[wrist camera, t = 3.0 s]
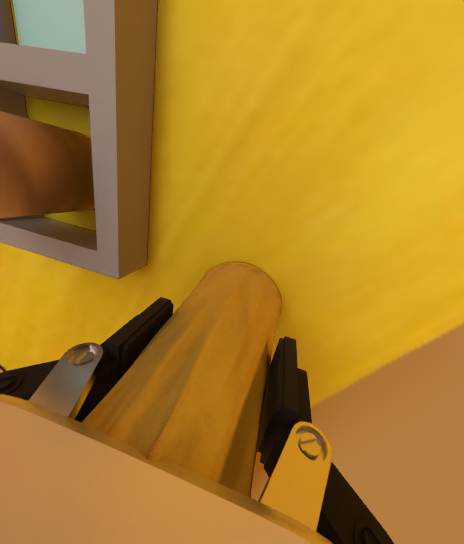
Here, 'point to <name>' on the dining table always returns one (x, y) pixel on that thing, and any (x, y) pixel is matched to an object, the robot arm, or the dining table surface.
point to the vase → (202, 380)
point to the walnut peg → (43, 168)
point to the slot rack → (103, 118)
